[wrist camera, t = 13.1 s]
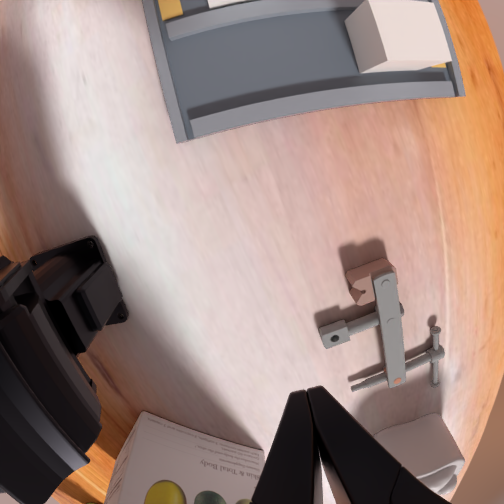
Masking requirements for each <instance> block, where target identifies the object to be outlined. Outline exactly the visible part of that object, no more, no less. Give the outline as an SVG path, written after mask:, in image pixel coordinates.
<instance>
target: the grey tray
mask: <svg viewBox="0 0 504 504" xmlns="http://www.w3.org/2000/svg"><path fill="white" fill-rule="evenodd" d="M364 1H365V0H254V1H248V2H243V3H238V4H233V5H228V6H224V7H219V8H215V9H211V10H210V7H209V4H208V0H142V3H143V7H144V12H145V17H146V21H147V26H148V30H149V35H150V39H151V44H152V48H153V52H154V56H155V61H156V65H157V69H158V73H159V77H160V81H161V85H162V89H163V93H164V97H165V101H166V105H167V109H168V113H169V117H170V121H171V125H172V128H173V132H174V136H175V140H176V143H184V142H187V141H190V140H194V139H197V138H201V137H204V136H208V135H212V134H215V133H219V132H223V131H227V130H231V129H235V128H239V127H243V126H247V125H251V124H256V123H260V122H264V121H269V120H274V119H278V118H283V117H288V116H293V115H299V114H304V113H310V112H315V111H321V110H327V109H334V108H340V107H347V106H355V105H362V104H371V103H380V102H389V101H400V100H412V99H428V98H451V97H463V96H466V95H465V90H464V85H463V81H462V76H461V72H460V68H459V64H458V60H457V56H456V53H455V49H454V46H453V42H452V39H451V36H450V33H449V29H448V26H447V23H446V20H445V18H444V15H443V12H442V9H441V6H440V4H439V1H438V0H414V1H423V2H431V3H434V5H435V8H436V11H437V14H438V16H439V19H440V22H441V25H442V28H443V31H444V34H445V38H446V41H447V44H448V48H449V51H450V55H451V59H452V61H450V62H446V63H442V64H438V65H434V66H431V67H427V68H423V69H420V70H408V71H386V72H372V73H359V69H358V65H357V62H356V58H355V54H354V51H353V48H352V44H351V41H350V38H349V34H348V31H347V28H346V25H345V22H344V21H345V20H346V19H347V18H348V17H349V16H350V15H351V14H352V13H353V12H354V11H355V10H356V9H357V8H358V7H359V6H360V5H361V4H362V3H363V2H364Z"/></svg>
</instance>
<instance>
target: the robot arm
mask: <svg viewBox="0 0 504 504" xmlns="http://www.w3.org/2000/svg"><path fill="white" fill-rule="evenodd" d="M89 241H91V242H92V243H93V246H91V245H90V243H89ZM35 261H36V262H37V264H36V263H35ZM32 270H33V272H32ZM119 313H121V314H123V316H121V315H120V314H119ZM128 316H129V313H128V311H127V309H126V306H125V304H124V302H123V300H122V294H121V291H120V289H119V287H118V284H117V282H116V279H115V277H114V275H113V272H112V270H111V267H110V265H109V264H108V263H107V262H106V259H105V256H104V254H103V251H102V249H101V246H100V243H99V241H98V239H97V238H96V237H95V236H88V237H85V238H82V239H79V240H76V241H73V242H70V243H67V244H64V245H61V246H58V247H55V248H52V249H49V250H47V251H44V252H41V253H38V254H35V255H34V256H32V257H31V258H30V260H27V261H24V262H21V263H20V262H16V263H14V262H11V261H10V260H9V259H7V258H6V257H5V256H1V257H0V493H7V494H9V495H10V496H11V497H12V498H14V499H15V500H16V501H17V502H19V503H20V504H44V503H45V502H46V501H47V500H48V499H49V497H50V496H51V495H52V493H53V492H54V491H55V489H56V488H57V487H58V486H59V484H60V483H61V482H62V481H63V480H64V479H65V478H66V477H68V476H69V475H70V474H71V473H73V472H74V471H75V470H77V469H79V468H81V467H83V466H85V465H87V464H88V463H89V462H90V459H89V458H88V457H87V456H86V454H85V453H86V452H87V451H88V450H89V448H90V447H91V446H92V444H93V443H94V442H95V441H96V439H97V437H98V435H99V433H100V431H101V429H102V424H101V423H100V422H99V421H100V414H101V405H100V402H99V399H98V396H97V395H96V385H95V383H94V382H93V380H92V379H90V378H89V377H88V375H87V374H86V372H85V371H84V369H83V367H82V366H81V364H80V362H79V361H78V359H77V357H78V355H79V354H80V353H84V352H86V350H87V349H88V347H89V346H90V344H91V342H92V341H93V339H94V338H95V336H96V334H97V333H98V331H101V330H102V329H103V327H104V326H105V325H111V324H116V323H122V322H125V321H126V320H127V318H128ZM319 454H320V455H319ZM320 458H321V461H320ZM321 462H322V465H323V468H324V471H325V474H326V477H327V479H328V482H329V485H330V487H331V490H332V493H333V496H334V498H335V501H336V504H451V503H450V502H448V501H447V500H445V499H443V498H442V497H441V496H439V495H438V494H436V493H435V492H434V491H432V490H431V489H429V488H428V487H427V486H426V485H424V484H423V483H422V482H421V481H420V480H419V479H417V478H416V477H415V476H414V475H413V474H412V473H411V472H410V471H409V470H408V469H406V468H405V467H404V466H402V464H401V463H400V462H399V461H398V460H397V459H396V458H395V457H394V456H393V455H391V454H390V453H389V452H388V451H387V450H386V449H385V448H384V447H383V446H382V445H381V444H380V443H379V442H378V441H377V440H376V439H375V438H374V437H373V436H372V435H371V434H370V433H369V432H368V431H367V430H366V429H365V428H364V427H363V426H362V425H361V424H360V423H359V422H358V421H357V420H356V419H355V418H354V417H353V416H352V415H351V414H350V413H349V412H348V411H347V410H346V409H345V408H344V407H343V406H342V405H341V404H340V403H339V402H338V401H337V400H336V399H335V398H334V397H333V396H332V395H331V394H330V393H329V392H328V391H327V390H326V389H325V388H324V387H323V386H316V387H312V388H308V389H307V392H306V390H299V391H295V392H291V393H290V395H289V397H288V400H287V403H286V406H285V409H284V412H283V415H282V418H281V421H280V424H279V427H278V429H277V432H276V435H275V438H274V441H273V443H272V446H271V449H270V452H269V454H268V457H267V460H266V462H265V465H264V468H263V470H262V473H261V475H260V478H259V481H258V483H257V486H256V488H255V491H254V493H253V496H252V498H251V501H252V502H250V503H249V504H323V491H322V470H321Z"/></svg>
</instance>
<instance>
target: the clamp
mask: <svg viewBox="0 0 504 504" xmlns="http://www.w3.org/2000/svg"><path fill="white" fill-rule="evenodd" d="M345 276H346V278H347V279H348V281H349V282H350V284H351V285H352V288H351V290H350V292H349V293H350V294H351V296H352V298H353V299H354V301H355V302H356V304H357V305H360V306H362V305H365V304H367V303H370V302H372V301H375V299H376V306H375V308H374V310H375V312H374V313H371V314H369V315H366V316H363V317H361V318H358V319H356V320H353V321H350V322H348V323H345V321H344V319H343V320H340V321H337V322H335V323H332V324H329V325H326V326H323V327H321V328H319V333H320V337H321V340H322V342H323V345H324V347H325V348H326V349H328V348H331V347H333V346H336V345H339V344H342V343H344V342H347V341H350V337H349V336H351V335H353V334H356V333H359V332H361V331H364V330H366V329H369V328H372V327H374V326H377V325H379V324H380V329H381V335H382V342H383V349H384V356H385V364H386V365H385V366H384V372H383V373H381V374H378V375H376V376H373V377H371V378H368V379H365V381H363V382H361V383H359V384H356V385H353V386H351V390H352V392H354V391H357V390H359V389H362V388H363V389H364V388H366V387H367V388H369V387H371V386H374V385H376V384H379V383H381V382H384V381H386V380H387V381H388V386H389V388H393V387H396V386H398V385H400V384H402V383H404V382H406V372H407V371H410V370H412V369H414V368H416V367H418V366H421V365H423V364H425V363H427V362H430V363H433V380H432V381H431V383H430V385H431V387H434V388H435V387H438V386H439V384H440V382H439V380H438V360H440V359H442V358H443V357H444V355H445V352H444V349H443V347H442V346H441V345H439V334H440V332H441V328H440V327H438V326H434V327H432V328H431V329H430V333H431V334H432V335H433V347H432V348H430V349H428V350H427V351H426V354H424V355H422V356H420V357H418V358H416V359H413V360H411V361H409V362H407V363H405V355H404V342H403V332H402V322H401V317H402V316H403V315H404V309H403V306H402V304H401V303H400V302H399V297H398V290H397V284H398V279H397V273H396V268H395V267H394V266H393V265H392V264H391V263H390V262H389V261H388V260H386V259H384V258H380V259H378V260H375V261H372V262H370V263H367V264H364V265H362V266H359V267H356V268H354V269H351V270H348V271H347V273H346V275H345Z"/></svg>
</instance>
